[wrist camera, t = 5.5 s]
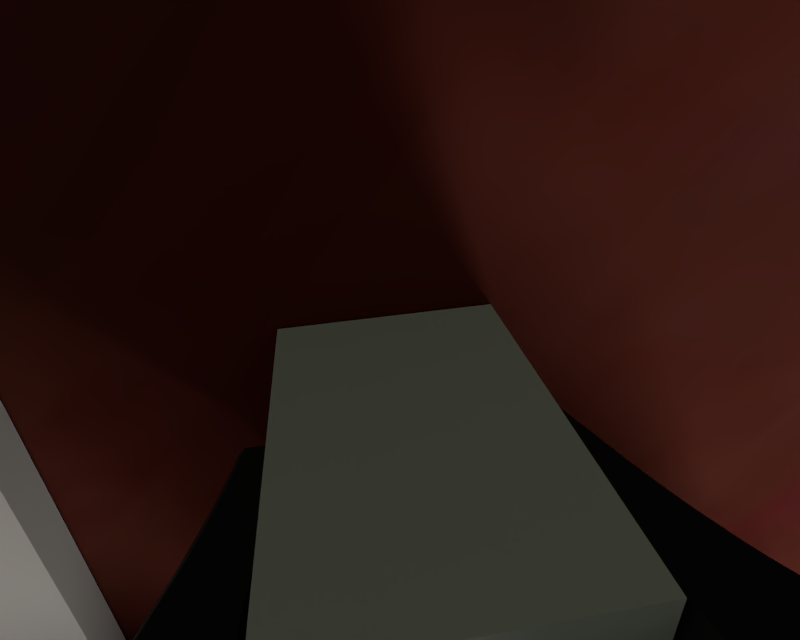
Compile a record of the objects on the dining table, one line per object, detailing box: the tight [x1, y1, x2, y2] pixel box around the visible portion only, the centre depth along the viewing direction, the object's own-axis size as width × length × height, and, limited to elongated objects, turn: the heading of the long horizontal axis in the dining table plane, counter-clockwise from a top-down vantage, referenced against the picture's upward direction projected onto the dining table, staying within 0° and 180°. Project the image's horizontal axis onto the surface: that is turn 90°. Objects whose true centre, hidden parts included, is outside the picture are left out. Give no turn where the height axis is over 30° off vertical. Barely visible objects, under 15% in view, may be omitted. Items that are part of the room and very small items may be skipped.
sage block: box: [246, 304, 687, 640], centre depth 8 cm, size 4×4×6 cm
